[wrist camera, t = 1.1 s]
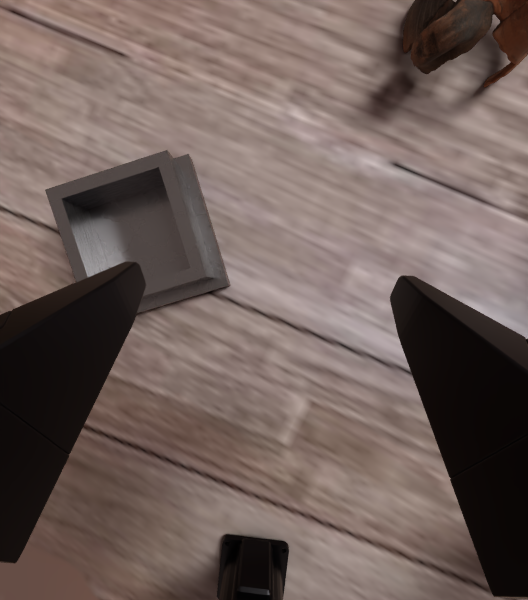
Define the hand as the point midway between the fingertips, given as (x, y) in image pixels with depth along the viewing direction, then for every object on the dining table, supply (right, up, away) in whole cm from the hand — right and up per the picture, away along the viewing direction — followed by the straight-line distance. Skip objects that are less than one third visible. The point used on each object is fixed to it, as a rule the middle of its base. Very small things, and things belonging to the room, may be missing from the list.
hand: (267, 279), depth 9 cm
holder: (-11, +5, +15) cm, 19 cm away
